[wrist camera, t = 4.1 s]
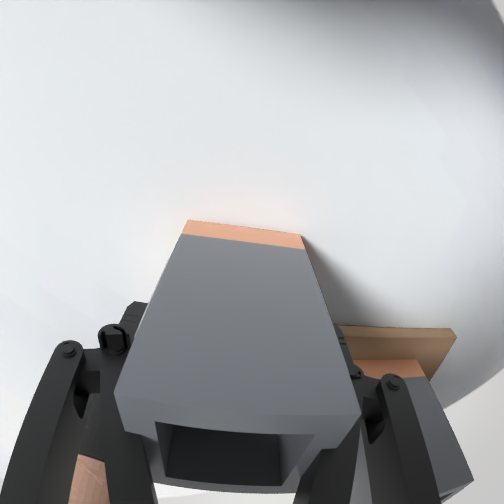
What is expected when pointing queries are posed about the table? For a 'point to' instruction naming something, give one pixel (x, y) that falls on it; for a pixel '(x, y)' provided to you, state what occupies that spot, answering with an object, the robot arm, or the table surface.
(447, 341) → the pinboard
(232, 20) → the table surface
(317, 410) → the banded sleeve
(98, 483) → the travel mug
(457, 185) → the table surface
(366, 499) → the seated sleeve
